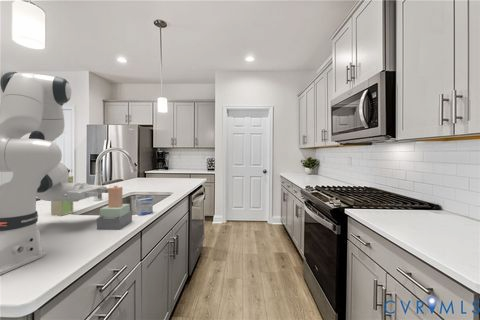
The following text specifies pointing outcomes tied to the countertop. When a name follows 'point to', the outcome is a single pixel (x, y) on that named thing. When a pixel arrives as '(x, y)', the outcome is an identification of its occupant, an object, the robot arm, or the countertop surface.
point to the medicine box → (144, 206)
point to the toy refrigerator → (62, 205)
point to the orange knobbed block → (115, 196)
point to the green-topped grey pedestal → (114, 217)
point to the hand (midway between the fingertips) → (103, 192)
